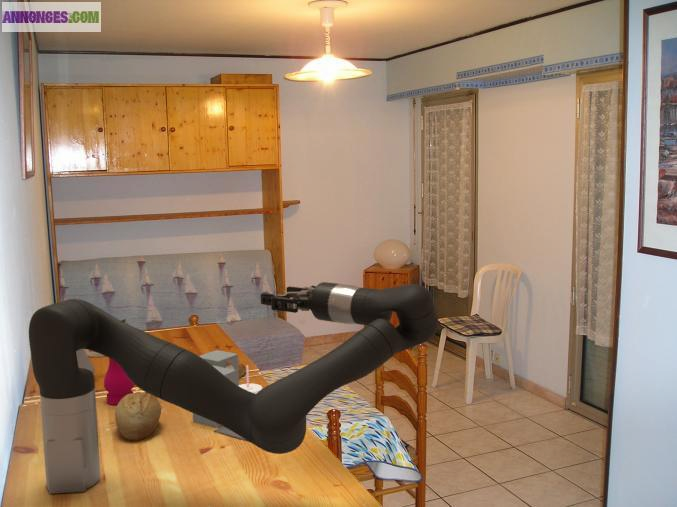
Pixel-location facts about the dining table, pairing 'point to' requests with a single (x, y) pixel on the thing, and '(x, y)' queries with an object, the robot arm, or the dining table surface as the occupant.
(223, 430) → the near cabinet dock
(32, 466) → the dining table surface
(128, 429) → the bread roll
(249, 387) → the beverage cup
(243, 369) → the pastry
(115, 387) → the pepper mill
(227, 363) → the far cabinet
